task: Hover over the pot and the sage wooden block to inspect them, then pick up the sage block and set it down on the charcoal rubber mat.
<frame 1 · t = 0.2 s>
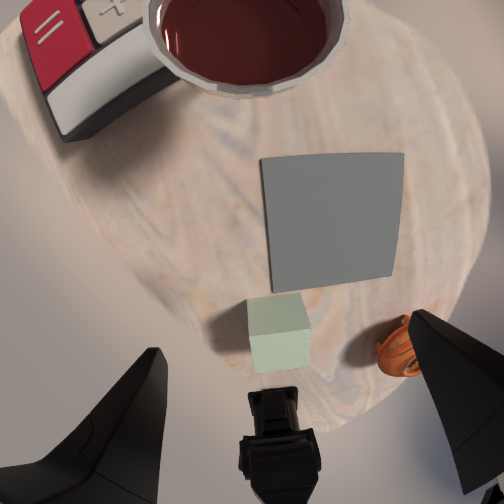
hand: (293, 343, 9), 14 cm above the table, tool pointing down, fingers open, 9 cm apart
pot: (397, 330, 30), on the table
wineglass: (240, 63, 17), on the table
calculator: (107, 33, 14), on the table
charcoal mat: (338, 224, 23), on the table
sage block: (274, 315, 27), on the table
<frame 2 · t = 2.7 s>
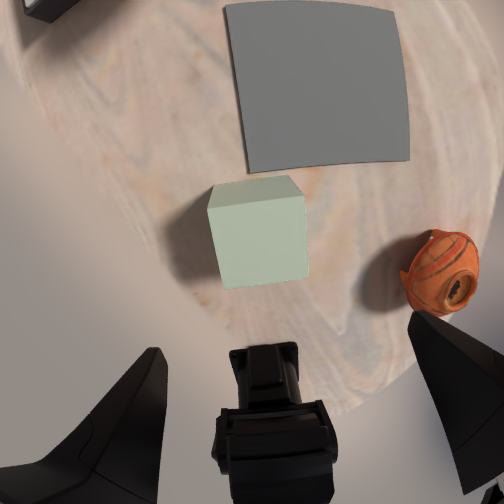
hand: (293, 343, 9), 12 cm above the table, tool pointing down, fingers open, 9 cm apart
pot: (424, 256, 22), on the table
charcoal mat: (329, 78, 15), on the table
sage block: (255, 213, 20), on the table
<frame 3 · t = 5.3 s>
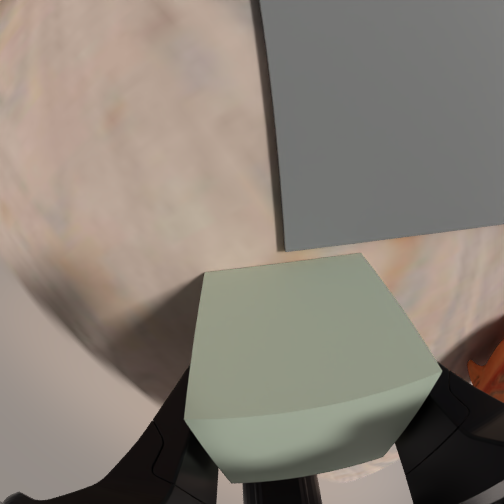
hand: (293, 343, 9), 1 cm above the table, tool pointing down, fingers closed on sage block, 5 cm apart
pot: (496, 337, 13), on the table
charcoal mat: (448, 61, 6), on the table
sage block: (288, 322, 10), on the table, touching gripper
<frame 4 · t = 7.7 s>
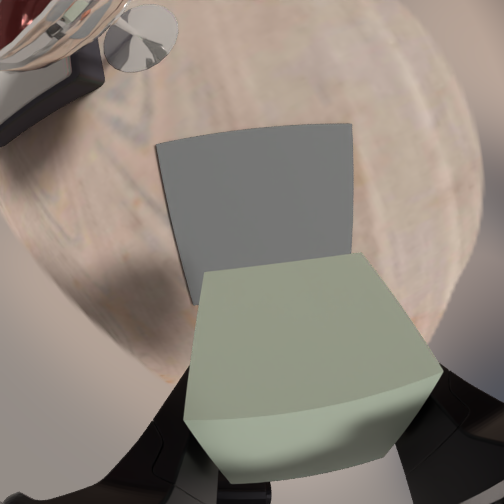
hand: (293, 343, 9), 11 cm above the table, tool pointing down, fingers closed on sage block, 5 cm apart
wineglass: (140, 37, 12), on the table
calculator: (36, 35, 11), on the table
charcoal mat: (265, 220, 18), on the table
sage block: (288, 322, 10), point 10 cm above the table, touching gripper
when the fingers open (2 cm above the table, at t = 9.9 s): sage block drops 1 cm, resting on charcoal mat.
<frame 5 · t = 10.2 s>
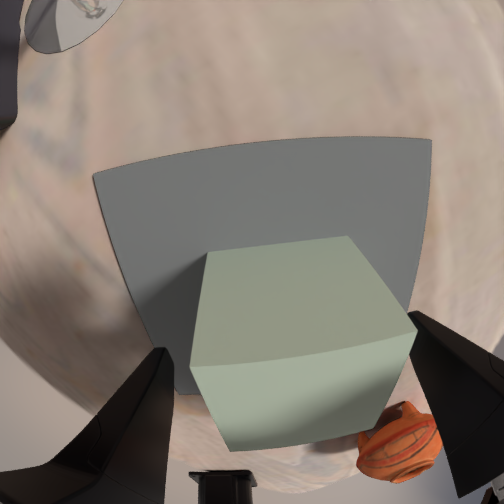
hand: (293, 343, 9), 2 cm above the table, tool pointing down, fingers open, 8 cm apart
pot: (391, 415, 18), on the table
charcoal mat: (283, 297, 11), on the table
sage block: (283, 300, 11), resting on charcoal mat
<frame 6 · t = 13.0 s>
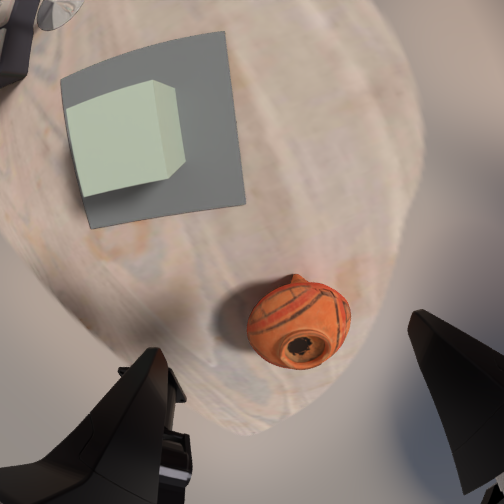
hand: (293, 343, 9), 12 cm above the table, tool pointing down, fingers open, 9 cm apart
pot: (292, 300, 23), on the table
wineglass: (61, 4, 10), on the table
calculator: (3, 22, 9), on the table
charcoal mat: (144, 132, 16), on the table
sage block: (143, 132, 16), resting on charcoal mat
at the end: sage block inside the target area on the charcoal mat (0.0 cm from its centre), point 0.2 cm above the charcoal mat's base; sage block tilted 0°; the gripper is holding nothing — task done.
